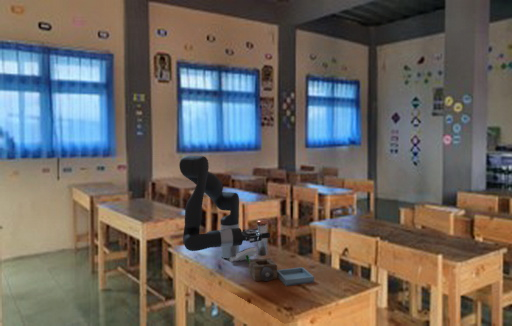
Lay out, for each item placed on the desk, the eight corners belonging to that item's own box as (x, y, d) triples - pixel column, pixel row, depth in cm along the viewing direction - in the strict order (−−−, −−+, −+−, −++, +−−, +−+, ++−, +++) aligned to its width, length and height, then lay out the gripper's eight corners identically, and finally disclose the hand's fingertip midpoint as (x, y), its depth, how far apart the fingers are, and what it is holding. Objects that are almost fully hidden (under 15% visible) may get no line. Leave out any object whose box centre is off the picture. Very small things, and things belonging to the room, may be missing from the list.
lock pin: (255, 253, 183) (255, 219, 182) (266, 252, 184) (265, 219, 183) (258, 256, 179) (258, 222, 177) (269, 255, 180) (268, 221, 178)
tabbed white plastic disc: (251, 255, 210) (258, 239, 205) (259, 266, 205) (266, 250, 200) (226, 261, 202) (232, 244, 196) (234, 273, 196) (241, 256, 191)
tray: (276, 275, 182) (276, 270, 182) (302, 272, 185) (302, 267, 185) (285, 286, 170) (285, 280, 170) (314, 282, 173) (313, 276, 173)
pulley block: (249, 273, 186) (248, 260, 185) (270, 271, 188) (270, 258, 188) (256, 283, 174) (256, 269, 173) (279, 280, 176) (278, 266, 176)
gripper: (233, 233, 170) (273, 229, 174) (226, 225, 183) (263, 221, 188) (234, 250, 170) (273, 246, 175) (227, 241, 184) (263, 237, 189)
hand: (268, 233), depth 181 cm, fingers closed on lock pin, 4 cm apart
